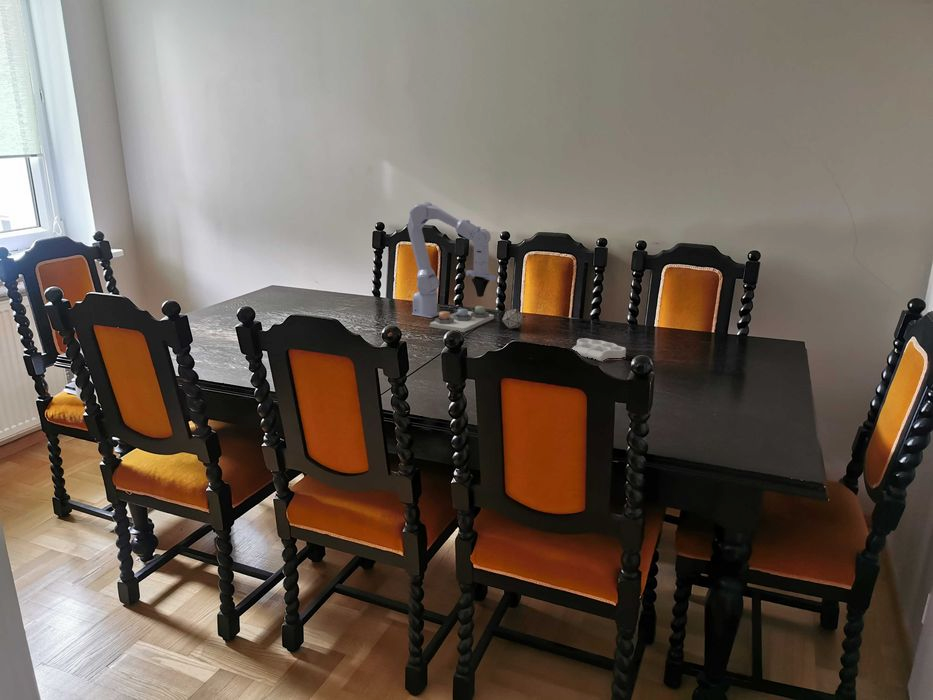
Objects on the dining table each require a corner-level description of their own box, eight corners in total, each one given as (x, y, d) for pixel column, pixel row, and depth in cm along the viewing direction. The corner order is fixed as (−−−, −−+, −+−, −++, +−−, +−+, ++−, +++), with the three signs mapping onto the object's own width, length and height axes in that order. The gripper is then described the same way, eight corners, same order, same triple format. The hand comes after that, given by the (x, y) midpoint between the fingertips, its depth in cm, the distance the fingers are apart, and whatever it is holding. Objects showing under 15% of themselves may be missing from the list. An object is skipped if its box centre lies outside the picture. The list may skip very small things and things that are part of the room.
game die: (516, 339, 261) (526, 322, 254) (495, 331, 261) (504, 314, 253) (520, 323, 267) (529, 306, 260) (499, 314, 267) (508, 297, 259)
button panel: (429, 326, 263) (429, 319, 262) (461, 313, 283) (461, 307, 282) (463, 332, 256) (463, 325, 255) (493, 318, 276) (493, 312, 275)
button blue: (455, 315, 268) (455, 310, 267) (460, 313, 271) (460, 308, 270) (464, 317, 266) (464, 311, 265) (469, 314, 269) (469, 309, 269)
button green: (473, 312, 272) (473, 307, 272) (478, 310, 276) (478, 305, 275) (482, 314, 270) (482, 308, 270) (486, 312, 274) (487, 306, 273)
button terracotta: (437, 318, 263) (437, 312, 263) (442, 316, 266) (442, 310, 266) (446, 320, 261) (446, 314, 261) (451, 317, 265) (451, 312, 264)
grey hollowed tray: (562, 353, 234) (587, 345, 244) (608, 365, 222) (632, 356, 232) (563, 344, 233) (588, 335, 243) (609, 355, 221) (633, 346, 231)
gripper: (460, 260, 270) (460, 294, 274) (486, 265, 259) (485, 301, 263) (473, 258, 274) (473, 292, 278) (500, 263, 264) (499, 298, 268)
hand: (480, 296), depth 271 cm, fingers closed
